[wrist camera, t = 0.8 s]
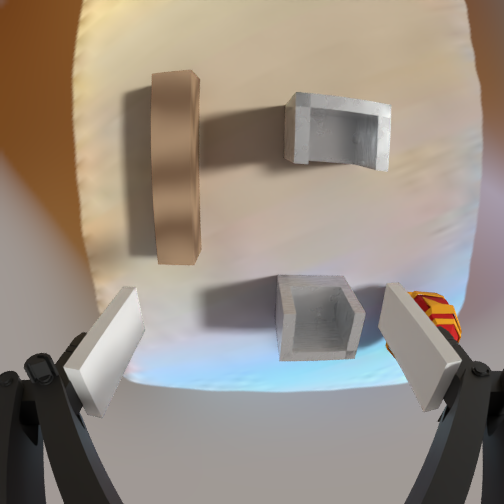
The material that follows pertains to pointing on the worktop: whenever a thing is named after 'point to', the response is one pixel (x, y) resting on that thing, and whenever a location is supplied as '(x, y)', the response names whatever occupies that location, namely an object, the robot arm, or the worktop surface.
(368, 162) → the bracket
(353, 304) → the bracket
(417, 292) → the potion bottle
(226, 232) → the worktop surface
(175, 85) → the rail
